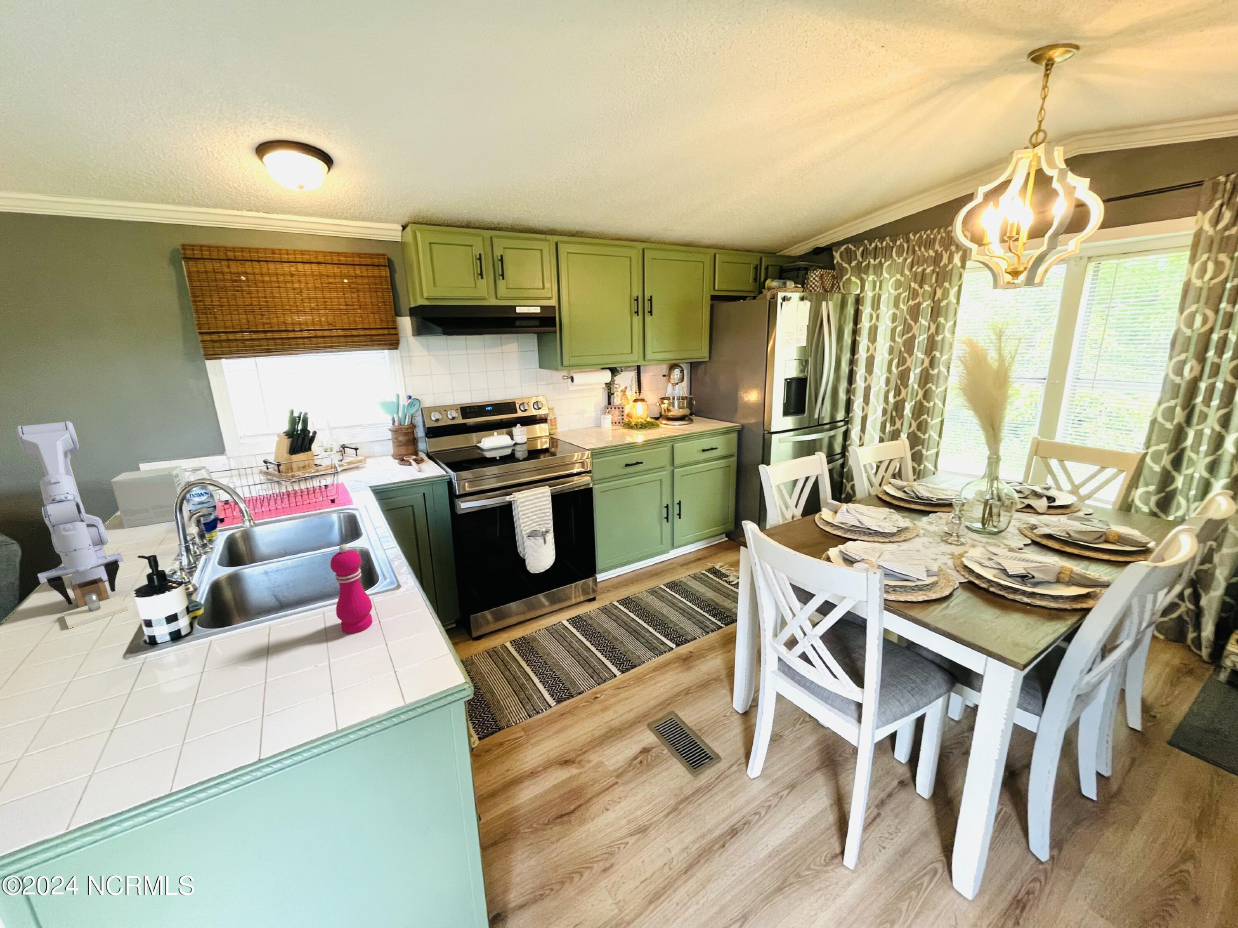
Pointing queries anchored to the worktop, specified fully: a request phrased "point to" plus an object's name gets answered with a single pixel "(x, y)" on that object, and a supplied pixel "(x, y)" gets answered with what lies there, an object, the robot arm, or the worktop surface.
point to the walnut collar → (90, 590)
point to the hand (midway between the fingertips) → (92, 596)
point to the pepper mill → (351, 592)
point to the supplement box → (147, 495)
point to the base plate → (94, 610)
